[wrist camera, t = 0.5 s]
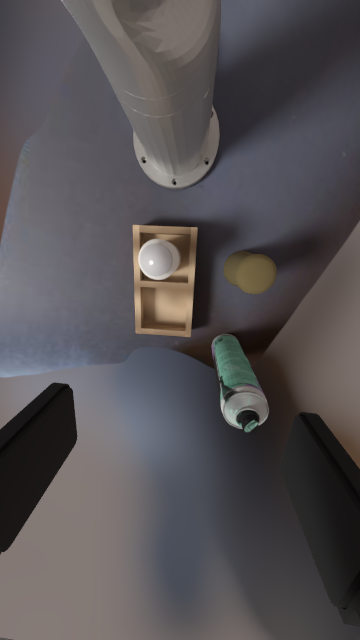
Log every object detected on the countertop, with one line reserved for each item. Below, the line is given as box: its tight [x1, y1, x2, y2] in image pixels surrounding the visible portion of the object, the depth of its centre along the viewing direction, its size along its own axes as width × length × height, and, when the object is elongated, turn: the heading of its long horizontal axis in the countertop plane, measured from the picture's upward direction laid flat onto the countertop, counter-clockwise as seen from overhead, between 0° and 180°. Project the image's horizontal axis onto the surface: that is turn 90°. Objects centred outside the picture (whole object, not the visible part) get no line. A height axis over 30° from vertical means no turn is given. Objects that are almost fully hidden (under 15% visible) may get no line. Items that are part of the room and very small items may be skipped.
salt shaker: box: [138, 239, 182, 280], centre depth 31 cm, size 5×5×10 cm
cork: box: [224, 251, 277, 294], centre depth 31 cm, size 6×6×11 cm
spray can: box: [212, 334, 269, 434], centre depth 31 cm, size 6×6×20 cm
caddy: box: [133, 225, 198, 337], centre depth 36 cm, size 18×10×4 cm, turn 178°
